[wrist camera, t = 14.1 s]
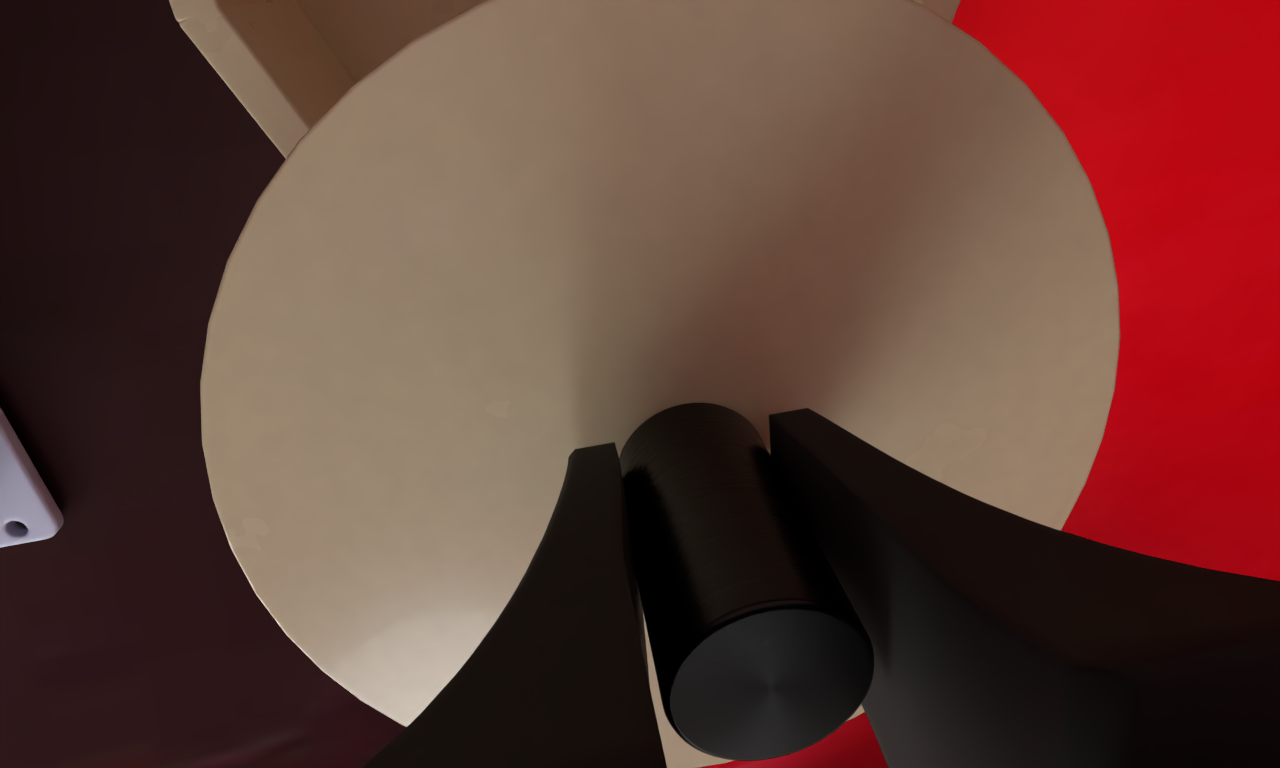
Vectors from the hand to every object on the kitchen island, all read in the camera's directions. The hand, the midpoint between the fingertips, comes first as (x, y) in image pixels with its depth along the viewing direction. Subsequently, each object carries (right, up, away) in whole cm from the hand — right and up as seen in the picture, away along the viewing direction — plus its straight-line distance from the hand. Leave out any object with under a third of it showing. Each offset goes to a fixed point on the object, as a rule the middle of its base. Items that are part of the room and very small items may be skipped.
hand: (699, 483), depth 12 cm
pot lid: (0, 0, +1) cm, 1 cm away
